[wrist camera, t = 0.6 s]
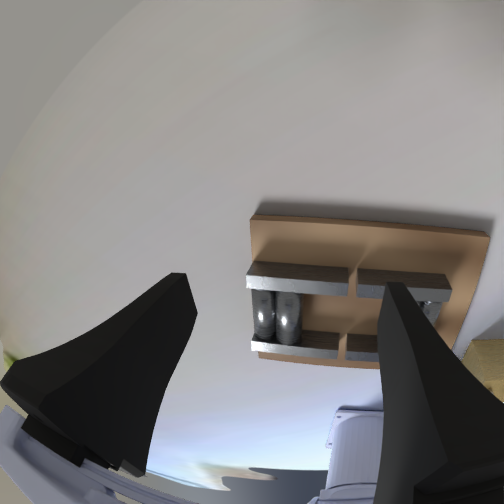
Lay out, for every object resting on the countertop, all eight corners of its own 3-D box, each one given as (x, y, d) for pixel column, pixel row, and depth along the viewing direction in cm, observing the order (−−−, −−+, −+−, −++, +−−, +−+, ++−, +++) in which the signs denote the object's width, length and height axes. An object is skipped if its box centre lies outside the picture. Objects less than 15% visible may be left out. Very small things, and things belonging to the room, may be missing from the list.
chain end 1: (338, 341, 23) (336, 359, 21) (258, 333, 25) (252, 350, 23) (348, 267, 20) (348, 283, 18) (253, 260, 22) (245, 275, 20)
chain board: (439, 362, 23) (441, 369, 22) (261, 350, 27) (258, 358, 26) (484, 231, 17) (490, 237, 16) (253, 214, 21) (249, 219, 20)
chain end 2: (421, 345, 21) (424, 363, 19) (345, 342, 23) (344, 360, 21) (444, 273, 18) (452, 289, 16) (357, 268, 20) (358, 284, 18)
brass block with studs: (496, 363, 21) (510, 406, 16) (458, 366, 22) (469, 411, 18) (510, 338, 20) (529, 381, 15) (471, 339, 21) (487, 386, 16)
